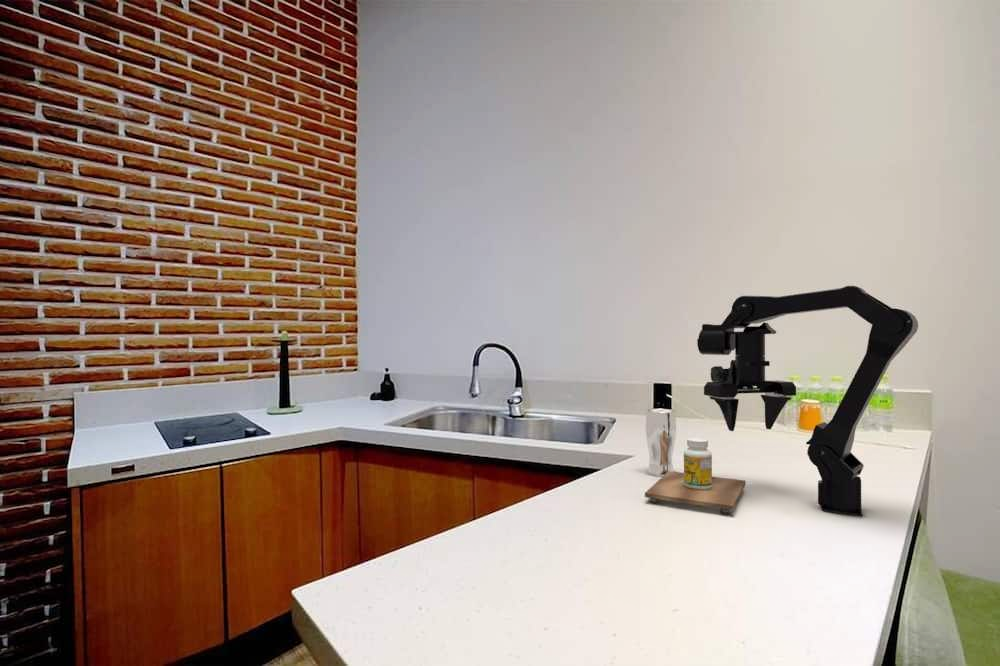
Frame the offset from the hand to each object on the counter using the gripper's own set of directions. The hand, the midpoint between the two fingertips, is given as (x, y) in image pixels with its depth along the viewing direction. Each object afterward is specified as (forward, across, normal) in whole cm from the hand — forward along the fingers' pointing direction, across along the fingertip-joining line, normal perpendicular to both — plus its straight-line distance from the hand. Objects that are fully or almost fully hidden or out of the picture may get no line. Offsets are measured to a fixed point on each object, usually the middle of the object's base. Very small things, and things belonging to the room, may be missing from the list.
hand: (750, 429), depth 114 cm
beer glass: (+13, +10, -18) cm, 25 cm away
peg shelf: (+13, +13, 0) cm, 18 cm away
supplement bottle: (+11, +13, 0) cm, 17 cm away
